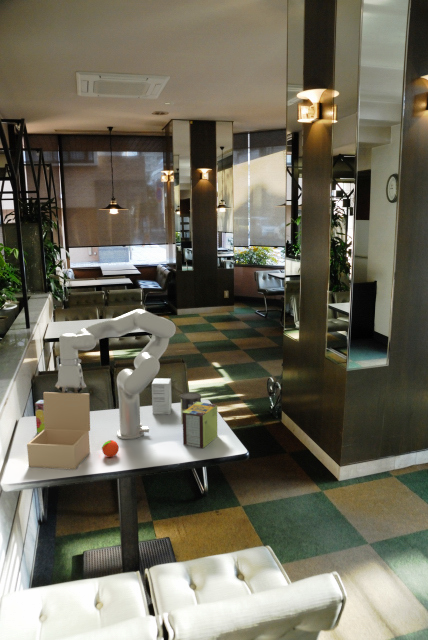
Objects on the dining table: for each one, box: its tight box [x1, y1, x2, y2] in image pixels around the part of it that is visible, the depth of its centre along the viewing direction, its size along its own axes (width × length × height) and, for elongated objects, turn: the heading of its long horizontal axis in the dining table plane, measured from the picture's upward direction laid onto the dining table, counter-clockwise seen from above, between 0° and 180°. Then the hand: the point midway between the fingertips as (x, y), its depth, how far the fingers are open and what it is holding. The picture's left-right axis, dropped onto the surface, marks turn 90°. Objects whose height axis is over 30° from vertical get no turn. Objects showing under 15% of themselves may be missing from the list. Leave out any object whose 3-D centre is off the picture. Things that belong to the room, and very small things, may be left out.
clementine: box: [101, 439, 120, 458], centre depth 217 cm, size 8×7×7 cm
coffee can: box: [180, 391, 202, 425], centre depth 254 cm, size 10×10×14 cm
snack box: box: [34, 399, 45, 434], centre depth 244 cm, size 21×6×15 cm, turn 84°
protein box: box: [182, 401, 218, 449], centre depth 232 cm, size 10×15×16 cm
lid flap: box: [43, 390, 91, 432], centre depth 224 cm, size 20×16×6 cm
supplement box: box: [151, 377, 173, 415], centre depth 270 cm, size 10×9×17 cm
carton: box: [26, 429, 91, 470], centre depth 214 cm, size 20×16×10 cm
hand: (71, 401), depth 226 cm, fingers closed on lid flap, 4 cm apart
